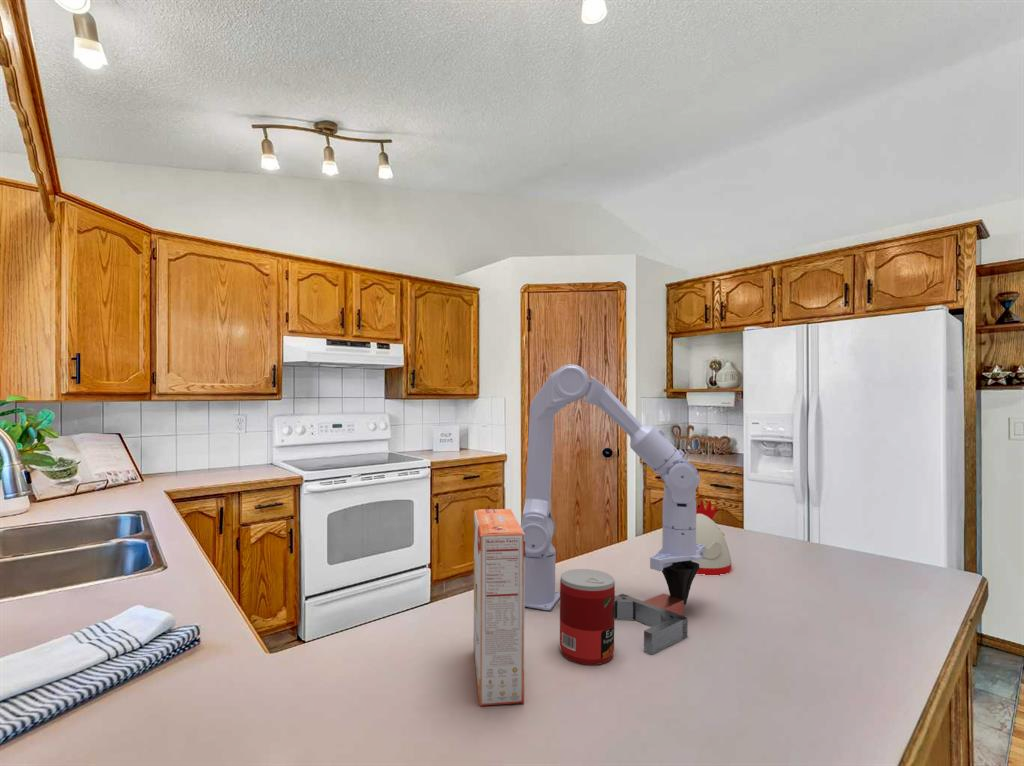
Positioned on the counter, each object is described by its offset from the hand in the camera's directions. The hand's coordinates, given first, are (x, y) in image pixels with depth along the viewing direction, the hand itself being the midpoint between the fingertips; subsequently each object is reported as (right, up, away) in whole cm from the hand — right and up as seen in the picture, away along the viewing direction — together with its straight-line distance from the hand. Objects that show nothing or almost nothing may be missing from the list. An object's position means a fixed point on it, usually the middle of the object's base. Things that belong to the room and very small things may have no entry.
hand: (678, 603), depth 91 cm
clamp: (-7, -1, -6) cm, 10 cm away
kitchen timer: (+13, -3, +26) cm, 29 cm away
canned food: (-19, -1, -15) cm, 24 cm away
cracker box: (-32, 0, -22) cm, 39 cm away
